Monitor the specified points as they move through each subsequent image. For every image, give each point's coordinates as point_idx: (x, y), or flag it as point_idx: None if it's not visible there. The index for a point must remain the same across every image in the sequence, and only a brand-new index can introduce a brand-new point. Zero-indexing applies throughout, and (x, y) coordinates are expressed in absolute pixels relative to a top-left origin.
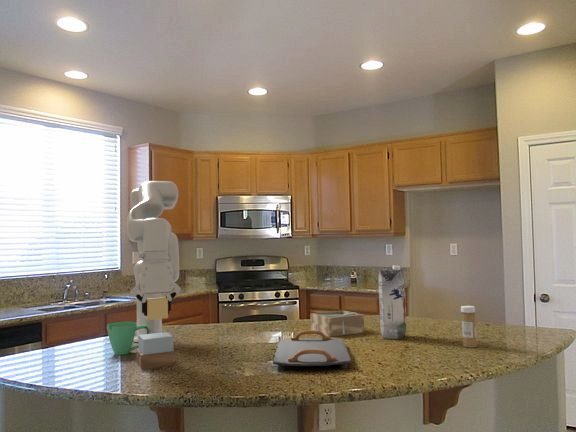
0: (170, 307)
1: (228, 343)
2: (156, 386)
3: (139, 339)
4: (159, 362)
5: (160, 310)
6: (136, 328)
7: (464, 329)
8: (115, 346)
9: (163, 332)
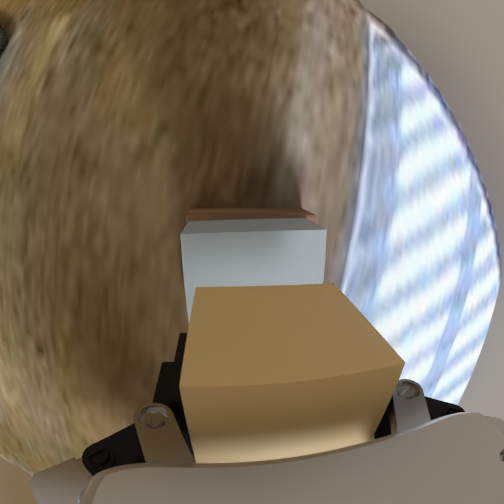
0: (162, 375)
1: (39, 380)
2: (291, 8)
3: None
4: (243, 209)
5: (257, 315)
6: None
7: None
8: None
9: None
